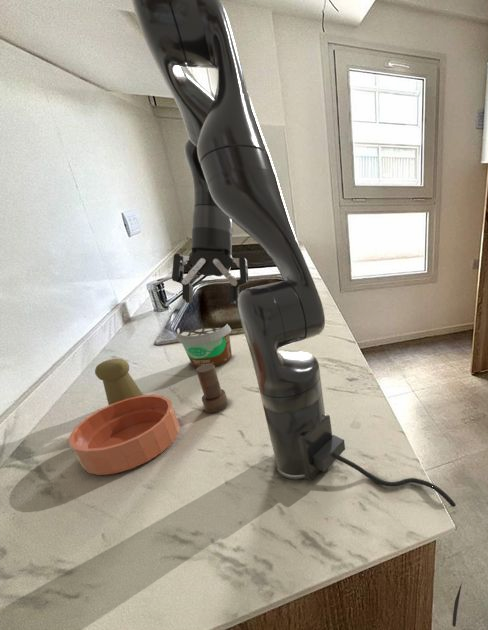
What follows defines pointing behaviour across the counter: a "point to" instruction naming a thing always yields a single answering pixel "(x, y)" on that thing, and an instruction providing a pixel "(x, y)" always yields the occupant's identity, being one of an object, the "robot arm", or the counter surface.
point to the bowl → (124, 434)
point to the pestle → (211, 389)
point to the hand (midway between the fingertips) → (211, 303)
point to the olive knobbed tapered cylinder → (117, 380)
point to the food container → (206, 345)
